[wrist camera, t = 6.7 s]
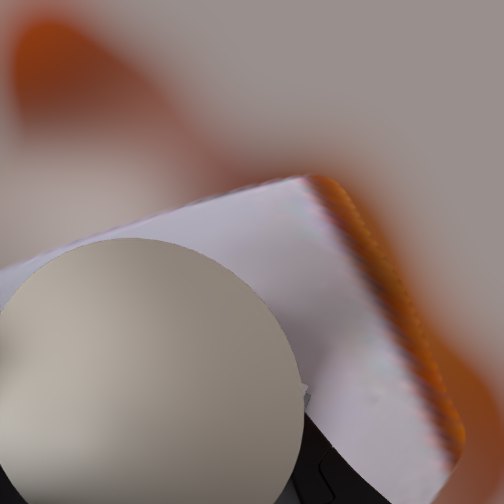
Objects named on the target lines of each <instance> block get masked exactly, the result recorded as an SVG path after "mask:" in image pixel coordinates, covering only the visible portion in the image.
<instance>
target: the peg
mask: <svg viewBox="0 0 504 504" xmlns="http://www.w3.org/2000/svg"><path fill="white" fill-rule="evenodd" d="M303 428H304V398H303V390H302V382H301V378H300V374H299V370H298V366H297V362H296V359H295V356H294V354H293V351H292V349H291V347H290V344H289V342H288V339H287V337H286V335H285V334H284V332H283V330H282V328H281V327H280V325H279V323H278V321H277V319H276V318H275V317H274V315H273V314H272V313H271V311H270V310H269V308H268V307H267V306H266V304H265V303H264V302H263V300H262V299H261V298H260V297H259V296H258V295H257V294H256V293H255V292H254V291H253V290H252V289H251V288H250V287H249V286H248V285H247V284H246V283H245V282H244V281H242V280H241V279H240V278H239V277H237V276H236V275H235V274H234V273H233V272H231V271H230V270H228V269H227V268H225V267H224V266H222V265H221V264H219V263H217V262H216V261H214V260H213V259H211V258H208V257H206V256H204V255H202V254H200V253H198V252H196V251H194V250H191V249H188V248H185V247H182V246H179V245H176V244H172V243H168V242H163V241H159V240H151V239H141V238H120V239H111V240H104V241H98V242H95V243H91V244H87V245H84V246H81V247H78V248H76V249H73V250H71V251H68V252H66V253H64V254H62V255H60V256H58V257H57V258H55V259H53V260H51V261H49V262H48V263H47V264H45V265H44V266H42V267H41V268H40V269H38V270H37V271H36V272H34V273H33V274H32V275H31V276H30V277H29V278H28V279H27V280H26V281H25V282H24V283H23V284H22V285H21V286H20V287H19V288H18V289H17V291H16V292H15V293H14V294H13V295H12V297H11V298H10V299H9V301H8V302H7V304H6V305H5V307H4V309H3V310H2V312H1V313H0V464H1V466H2V468H3V470H4V471H5V473H6V475H7V476H8V478H9V480H10V481H11V483H12V484H13V486H14V487H15V488H16V490H17V491H18V492H19V493H20V495H21V496H22V497H23V498H24V500H25V501H26V502H27V503H28V504H274V502H275V501H276V500H277V498H278V497H279V495H280V494H281V493H282V491H283V489H284V487H285V485H286V483H287V482H288V480H289V478H290V476H291V474H292V472H293V469H294V466H295V463H296V460H297V457H298V454H299V451H300V446H301V440H302V434H303Z"/></svg>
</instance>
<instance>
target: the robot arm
mask: <svg viewBox="0 0 504 504" xmlns="http://www.w3.org/2000/svg"><path fill="white" fill-rule="evenodd" d="M0 504H28V503H27V502H26V501H25V500H24V498H23V497H22V496H21V495H20V493H19V492H18V491H17V490H16V488H15V487H14V486H13V484H12V483H11V481H10V480H9V478H8V476H7V475H6V473H5V471H4V470H3V468H2V466H1V464H0ZM274 504H392V503H390V502H389V501H388V500H387V499H386V498H385V497H383V496H382V495H381V494H380V493H379V492H378V491H376V490H375V489H374V488H373V487H372V486H371V485H370V484H369V483H367V482H366V481H365V480H364V479H363V478H362V477H361V476H360V475H359V474H358V473H357V472H356V471H355V470H354V469H353V468H352V467H351V466H350V465H349V464H348V463H347V462H346V461H345V460H344V458H343V457H342V456H341V455H340V454H339V453H338V452H337V450H336V449H335V448H334V447H332V445H331V443H330V442H329V441H328V440H327V438H326V437H325V436H324V435H323V434H322V432H321V431H320V430H319V429H318V427H317V426H316V425H315V424H314V422H313V421H312V420H311V419H310V418H309V416H308V415H307V414H306V413H305V411H304V428H303V434H302V440H301V446H300V451H299V454H298V457H297V460H296V463H295V466H294V469H293V472H292V474H291V476H290V478H289V480H288V482H287V483H286V485H285V487H284V489H283V491H282V493H281V494H280V495H279V497H278V498H277V500H276V501H275V502H274Z"/></svg>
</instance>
